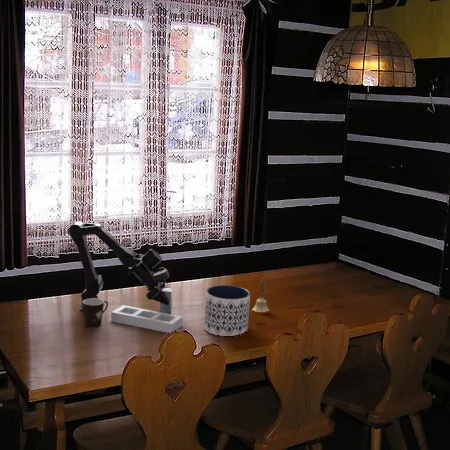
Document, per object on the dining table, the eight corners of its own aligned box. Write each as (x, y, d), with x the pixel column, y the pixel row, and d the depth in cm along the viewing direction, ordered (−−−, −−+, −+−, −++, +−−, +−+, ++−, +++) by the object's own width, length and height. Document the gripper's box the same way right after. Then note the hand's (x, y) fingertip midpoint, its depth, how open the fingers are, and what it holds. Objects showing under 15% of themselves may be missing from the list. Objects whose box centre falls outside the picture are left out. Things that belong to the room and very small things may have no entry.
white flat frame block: (111, 321, 290) (111, 312, 289) (122, 313, 299) (123, 305, 298) (171, 333, 281) (172, 324, 280) (182, 325, 290) (182, 316, 289)
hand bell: (268, 315, 308) (271, 281, 305) (250, 313, 310) (252, 279, 306) (271, 309, 316) (273, 276, 312) (253, 307, 318) (255, 274, 314)
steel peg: (159, 317, 298) (160, 290, 295) (161, 313, 302) (162, 287, 299) (170, 318, 298) (171, 291, 295) (171, 314, 302) (172, 288, 299)
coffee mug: (85, 329, 279) (86, 306, 277) (79, 322, 286) (80, 299, 284) (113, 326, 284) (114, 303, 282) (106, 319, 292) (107, 296, 290)
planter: (232, 341, 277) (235, 302, 273) (195, 330, 286) (197, 292, 282) (255, 328, 292) (258, 291, 288) (219, 318, 301) (221, 282, 297)
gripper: (155, 269, 286) (180, 296, 288) (161, 257, 304) (185, 283, 306) (135, 286, 288) (161, 313, 290) (143, 273, 306) (167, 299, 308)
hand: (169, 301), depth 298 cm, fingers open, 7 cm apart
